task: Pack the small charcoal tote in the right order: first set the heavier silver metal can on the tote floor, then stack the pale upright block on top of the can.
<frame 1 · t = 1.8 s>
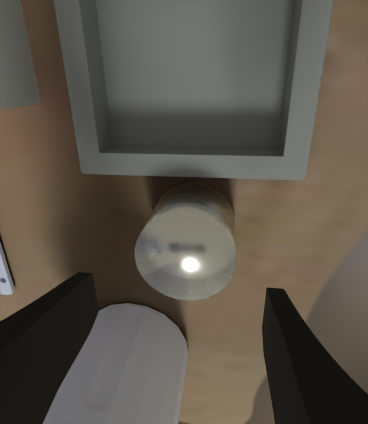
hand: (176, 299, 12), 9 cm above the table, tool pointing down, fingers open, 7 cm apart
metal can: (194, 219, 21), on the table
soap bottle: (137, 339, 26), on the table
tote: (193, 53, 16), on the table
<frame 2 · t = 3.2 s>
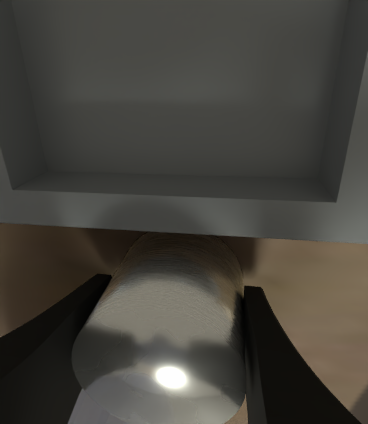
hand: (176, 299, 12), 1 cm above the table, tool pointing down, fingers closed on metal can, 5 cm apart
metal can: (182, 278, 14), on the table, touching gripper
soap bottle: (110, 421, 20), on the table
tote: (174, 18, 10), on the table
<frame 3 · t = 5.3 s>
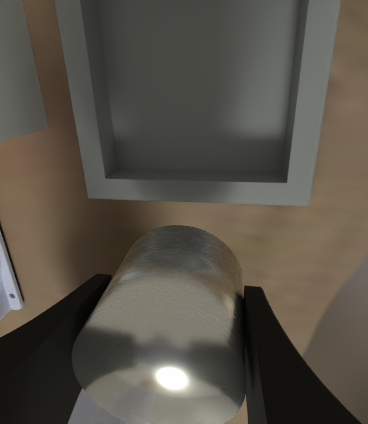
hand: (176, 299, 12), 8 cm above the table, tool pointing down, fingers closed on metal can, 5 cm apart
metal can: (182, 278, 14), point 7 cm above the table, touching gripper
soap bottle: (143, 353, 27), on the table
tote: (197, 79, 17), on the table
when the fingers open (4 cm above the table, at t = 7.4 s): metal can drops 1 cm, resting on tote.
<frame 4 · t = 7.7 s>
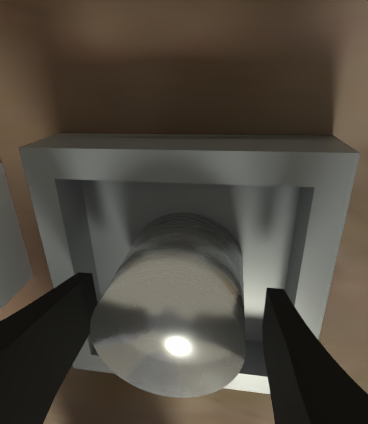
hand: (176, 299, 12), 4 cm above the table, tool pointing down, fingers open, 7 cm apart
metal can: (186, 262, 15), point 1 cm above the table, touching tote
tote: (189, 251, 16), on the table
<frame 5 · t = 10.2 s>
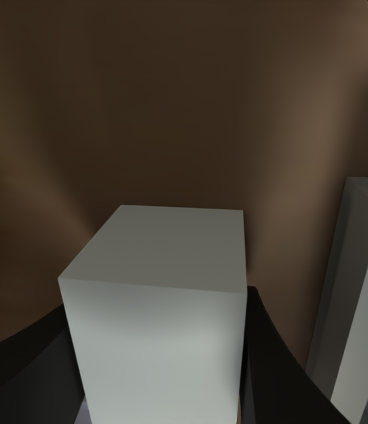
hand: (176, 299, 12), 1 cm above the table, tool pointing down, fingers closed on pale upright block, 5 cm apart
pale upright block: (182, 278, 14), on the table, touching gripper
when the fingers open (9 cm above the table, at t = 13.8 s): pale upright block drops 1 cm, resting on metal can.
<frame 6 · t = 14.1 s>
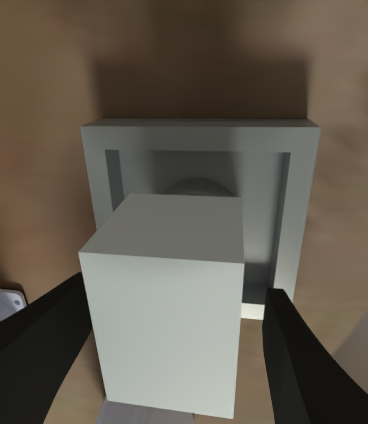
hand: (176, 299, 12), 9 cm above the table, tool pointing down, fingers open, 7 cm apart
metal can: (198, 218, 19), point 1 cm above the table, touching pale upright block, tote
soap bottle: (149, 408, 30), on the table
pale upright block: (185, 261, 15), point 6 cm above the table, touching metal can
tote: (199, 211, 20), on the table
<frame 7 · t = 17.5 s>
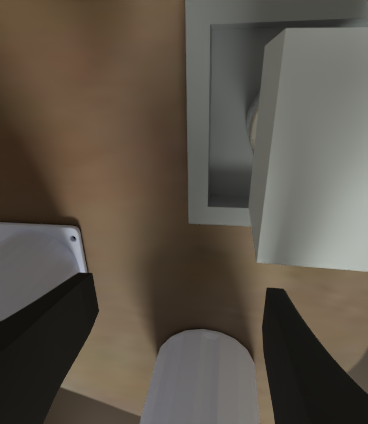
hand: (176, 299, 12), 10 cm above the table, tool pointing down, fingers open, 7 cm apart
metal can: (292, 121, 18), point 1 cm above the table, touching pale upright block, tote
soap bottle: (205, 361, 29), on the table
pale upright block: (313, 136, 13), point 6 cm above the table, touching metal can
tote: (289, 119, 19), on the table
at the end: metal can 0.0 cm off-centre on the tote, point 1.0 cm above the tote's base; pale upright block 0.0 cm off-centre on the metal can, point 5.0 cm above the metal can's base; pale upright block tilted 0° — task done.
